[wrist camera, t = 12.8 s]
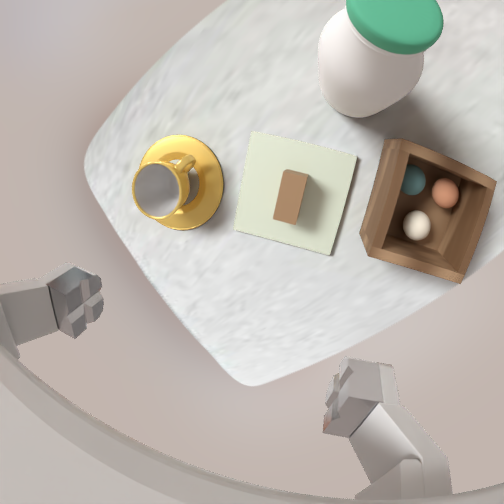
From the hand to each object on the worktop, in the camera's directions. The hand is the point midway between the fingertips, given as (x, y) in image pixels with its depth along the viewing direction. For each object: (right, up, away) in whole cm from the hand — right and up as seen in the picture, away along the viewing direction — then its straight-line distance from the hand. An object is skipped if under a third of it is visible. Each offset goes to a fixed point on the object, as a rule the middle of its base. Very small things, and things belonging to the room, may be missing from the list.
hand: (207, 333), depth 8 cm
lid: (+6, +9, +24) cm, 26 cm away
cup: (-8, +11, +26) cm, 29 cm away
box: (+20, +8, +20) cm, 29 cm away
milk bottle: (+12, +20, +17) cm, 29 cm away
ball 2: (+19, +5, +18) cm, 27 cm away
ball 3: (+22, +9, +16) cm, 29 cm away
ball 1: (+17, +10, +17) cm, 26 cm away
